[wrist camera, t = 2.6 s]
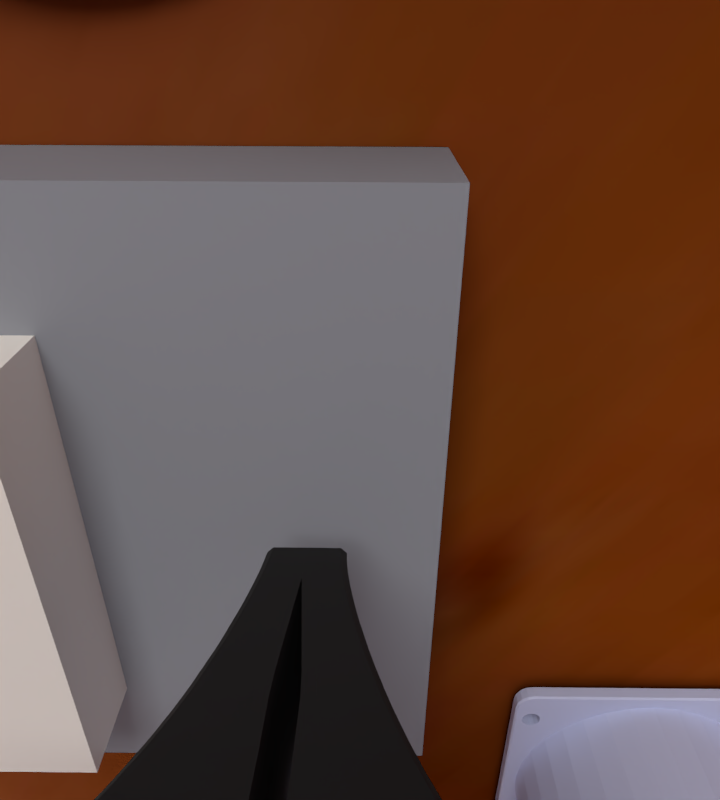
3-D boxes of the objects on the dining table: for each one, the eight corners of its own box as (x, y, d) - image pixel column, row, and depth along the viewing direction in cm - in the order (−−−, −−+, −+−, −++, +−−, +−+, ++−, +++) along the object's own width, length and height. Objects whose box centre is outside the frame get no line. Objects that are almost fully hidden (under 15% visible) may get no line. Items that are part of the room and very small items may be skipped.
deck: (414, 656, 19) (422, 755, 17) (-101, 651, 20) (-173, 749, 17) (448, 147, 12) (469, 182, 10) (-357, 143, 12) (-546, 177, 10)
